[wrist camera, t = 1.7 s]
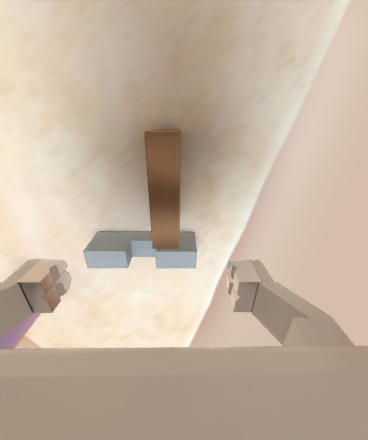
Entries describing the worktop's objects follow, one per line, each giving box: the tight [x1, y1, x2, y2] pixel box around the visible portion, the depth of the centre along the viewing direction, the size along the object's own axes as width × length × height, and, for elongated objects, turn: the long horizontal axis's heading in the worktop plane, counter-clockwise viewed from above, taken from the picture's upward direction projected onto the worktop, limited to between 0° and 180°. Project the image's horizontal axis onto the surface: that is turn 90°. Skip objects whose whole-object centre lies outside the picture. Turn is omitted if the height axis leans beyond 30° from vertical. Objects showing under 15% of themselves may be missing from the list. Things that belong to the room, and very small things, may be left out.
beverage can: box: [0, 313, 41, 349], centre depth 29 cm, size 6×6×15 cm
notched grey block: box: [83, 232, 197, 268], centre depth 30 cm, size 3×16×6 cm, turn 89°
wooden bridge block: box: [145, 130, 180, 249], centre depth 23 cm, size 12×3×10 cm, turn 179°
